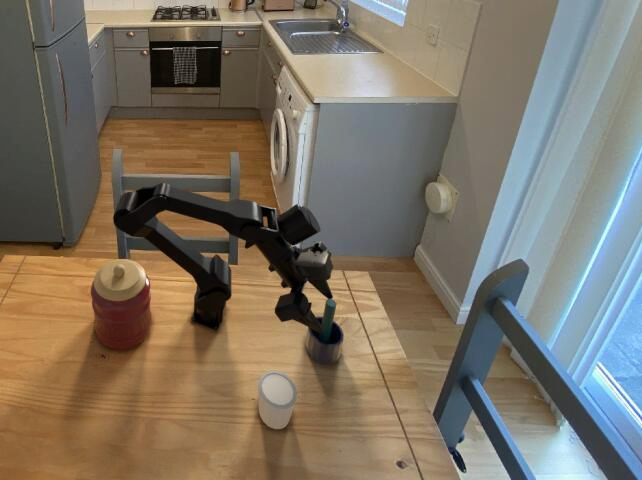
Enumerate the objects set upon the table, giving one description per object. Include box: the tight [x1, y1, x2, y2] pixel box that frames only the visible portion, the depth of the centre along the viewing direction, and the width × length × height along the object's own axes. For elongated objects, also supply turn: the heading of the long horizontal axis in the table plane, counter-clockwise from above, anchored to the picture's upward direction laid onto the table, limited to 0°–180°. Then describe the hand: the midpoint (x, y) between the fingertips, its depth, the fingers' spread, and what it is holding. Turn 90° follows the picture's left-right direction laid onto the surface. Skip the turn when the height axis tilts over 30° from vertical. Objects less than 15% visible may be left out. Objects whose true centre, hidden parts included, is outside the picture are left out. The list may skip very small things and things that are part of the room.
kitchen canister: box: [90, 258, 152, 351], centre depth 93 cm, size 13×13×18 cm
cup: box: [304, 316, 345, 365], centre depth 89 cm, size 7×7×6 cm
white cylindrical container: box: [257, 369, 298, 430], centre depth 77 cm, size 7×7×7 cm
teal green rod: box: [319, 298, 337, 344], centre depth 87 cm, size 2×2×13 cm
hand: (326, 314), depth 86 cm, fingers open, 9 cm apart
